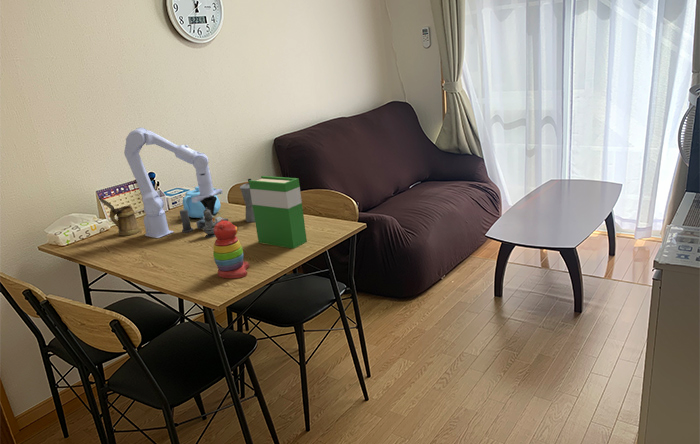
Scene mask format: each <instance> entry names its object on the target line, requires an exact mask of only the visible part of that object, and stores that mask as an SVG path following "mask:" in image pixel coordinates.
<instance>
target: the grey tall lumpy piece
mask: <svg viewBox="0 0 700 444" xmlns="http://www.w3.org/2000/svg"><path fill="white" fill-rule="evenodd" d="M203 213H204V220H205V227H203V229H202V230H203V232H204V233H205V234H206V235H204V237H205V238H206V239H212V238H216V236H215V234H214V227H215V225H214V223H213V217H212V216H213V215H211V211H210V210H209V209H207V207H206V209H205V210H204V211H203Z"/></svg>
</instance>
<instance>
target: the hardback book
mask: <svg viewBox="0 0 700 444" xmlns="http://www.w3.org/2000/svg"><path fill="white" fill-rule="evenodd" d="M248 183H249V187H250V193H251V199H252V205H253V212H254V218H255V222H254V223H255V229H256V235H257V241H258V244H265V245H271V246H277V247H282V248H286V249H287V248H288V249H293V250H295V249H296V248H298V247H300V246H302V245H303V244H306V243H307V242H308V241H307V233H306V232H307V231H306V224H305V217H304V210H303V203H302V201H303V200H302V195H301V186H300V180H299V178H296V177H283V176H270V175H269V176H268V175H262V176H260V179H256V180H253V179H251V180H249V182H248Z"/></svg>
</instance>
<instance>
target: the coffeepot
mask: <svg viewBox="0 0 700 444" xmlns="http://www.w3.org/2000/svg"><path fill="white" fill-rule="evenodd" d="M249 180H252V178H248V179H247V181H248V183H244V184H242V185H239V189H240V191H241V196H242V198H243V201H244V204H245V221H246V223H255V218H254V212H253V205H252V199H251V193H250V187H249Z"/></svg>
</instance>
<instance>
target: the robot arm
mask: <svg viewBox="0 0 700 444" xmlns="http://www.w3.org/2000/svg"><path fill="white" fill-rule="evenodd" d="M145 145H146V146H149V145H150V146H151V145H156V146H157V147H160V148H163V149H165V150H167V151H170V152H172V153H174V156H175V157H176V158H177V159H179V160H181V161H183V162H185V163H187V164H189V165H193V167H194V169H195V175H196V176H195V177H196V182H197V186H198V187H199V192H200V194H199V195H197V196H195V197H193V198H192V202H193V203H196V202H198V201H200V202H201V203H202V204H203V205H204V207H205V209H206V207H207V209H209V210H210V211H211V215H212V216H214V215H215V214H214V206H215V202H216V200H217V198H216V197H214V196H215V195H217V196H218V195H222V194H223V189H222V188H217V189H216V190H214V189H213V188H214V186H213V185H214V184H213V181H212V180H213V179H212V174H211V171H210V165H209V163H210V162H209V160H210V159H209V156H207V154H205V153H204V152H200V151H199V150H197V151H196V150H194V149H192V148H190V146H189V145H188V144H185V145H184V144H180V145H178V144H177V143H174V142H172V141H170V140H168V139H167V138H165V137H163V136H161V135H159V134H157V133H156V132H153V131H152V130H150V129H149V130H148V129H146V128H145V127H137V128H136V129H133V130H131V131H130V132H128V134H127V136H126V138H125V145H124V146H125V147H124V157H125V159H126V161H127V163H128V165H129V169H130V170H131V172H132V175H133V177H134V179H135V181H136V184H137V186H138V189H139V191H140V193H141V195H142V196H141V197H142V203H143V211H144V213H145V214H144V215H145V216H143V225H144V228H145V233H146V234H144V236H145V237H150V238H153V239H155V238H156V239H159V238H162V237H165V236H168V235H170V234H172V233H174V230H170V229H169V225H168V220H167V216H166V211H165V210H164V205H165V202H164V199H163V198H162V197H161V196H160V195H159V193H158V192H157V190H155V188H154V185H153V183H152V181H151V179H150V176H149V174H148V171H147V169H146V168H145V165H144V162H143V159H142V158H141V155H140V152H141V151H142V148H143V146H145Z"/></svg>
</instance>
